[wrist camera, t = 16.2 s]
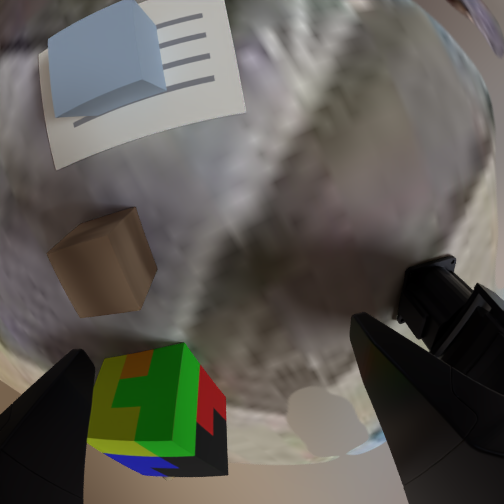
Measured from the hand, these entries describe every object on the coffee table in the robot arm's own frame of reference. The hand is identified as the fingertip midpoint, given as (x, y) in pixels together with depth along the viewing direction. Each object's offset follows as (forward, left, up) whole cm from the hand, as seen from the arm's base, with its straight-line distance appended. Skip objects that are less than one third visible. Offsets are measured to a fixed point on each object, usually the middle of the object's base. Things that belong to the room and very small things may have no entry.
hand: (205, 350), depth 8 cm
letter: (+4, -12, -12) cm, 17 cm away
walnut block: (+8, 0, -12) cm, 14 cm away
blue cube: (+4, -12, -11) cm, 17 cm away
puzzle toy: (+10, +16, -12) cm, 23 cm away
